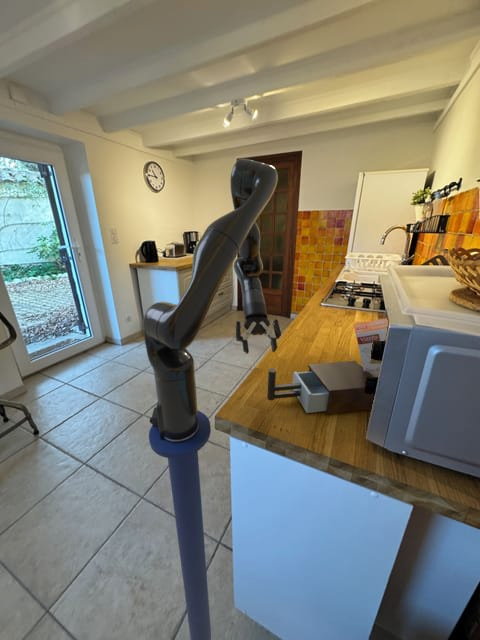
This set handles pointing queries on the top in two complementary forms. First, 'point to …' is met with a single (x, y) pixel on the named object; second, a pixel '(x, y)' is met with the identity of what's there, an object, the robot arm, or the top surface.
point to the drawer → (300, 390)
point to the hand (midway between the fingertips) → (260, 352)
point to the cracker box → (370, 342)
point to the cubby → (343, 386)
